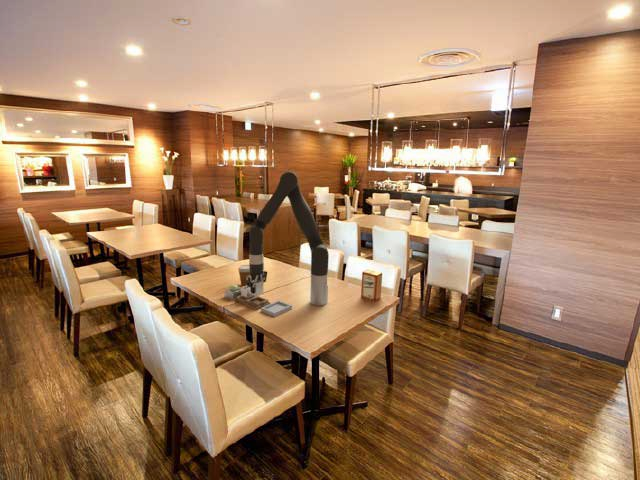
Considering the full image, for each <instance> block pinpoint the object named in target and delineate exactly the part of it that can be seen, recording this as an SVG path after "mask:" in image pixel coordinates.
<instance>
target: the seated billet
mask: <svg viewBox="0 0 640 480" xmlns="http://www.w3.org/2000/svg"><path fill="white" fill-rule="evenodd" d="M240 288H241V298H243V299H246V300H248V299H250V298H253V297H254V295H253V294H251V293H250V287H249V286H241V287H240Z"/></svg>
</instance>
